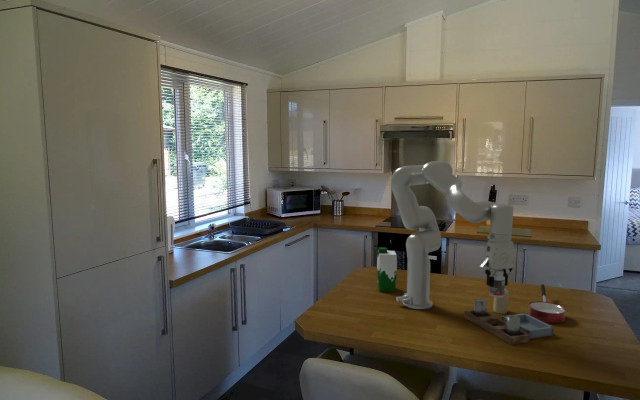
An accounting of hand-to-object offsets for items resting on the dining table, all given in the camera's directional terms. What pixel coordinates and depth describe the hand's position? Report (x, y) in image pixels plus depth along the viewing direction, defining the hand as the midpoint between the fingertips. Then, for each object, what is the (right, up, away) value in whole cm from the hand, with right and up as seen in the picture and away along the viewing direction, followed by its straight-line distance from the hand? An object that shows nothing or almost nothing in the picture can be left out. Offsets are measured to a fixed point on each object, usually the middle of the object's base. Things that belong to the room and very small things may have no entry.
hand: (496, 284), depth 167 cm
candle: (+9, -15, +19) cm, 26 cm away
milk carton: (-34, -11, +46) cm, 59 cm away
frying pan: (+28, -15, +22) cm, 39 cm away
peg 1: (-3, -16, +10) cm, 19 cm away
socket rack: (0, -17, +2) cm, 17 cm away
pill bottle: (0, -4, 0) cm, 4 cm away
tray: (+12, -17, +2) cm, 21 cm away
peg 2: (+3, -18, -7) cm, 19 cm away
